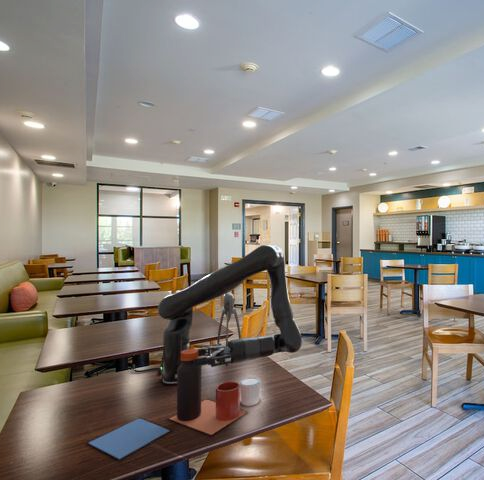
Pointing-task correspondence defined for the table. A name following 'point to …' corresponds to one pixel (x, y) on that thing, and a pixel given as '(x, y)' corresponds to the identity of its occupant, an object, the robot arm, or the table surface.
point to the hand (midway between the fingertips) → (191, 358)
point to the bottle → (188, 387)
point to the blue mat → (128, 438)
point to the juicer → (228, 315)
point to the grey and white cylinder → (250, 391)
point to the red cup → (227, 401)
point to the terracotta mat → (207, 419)
